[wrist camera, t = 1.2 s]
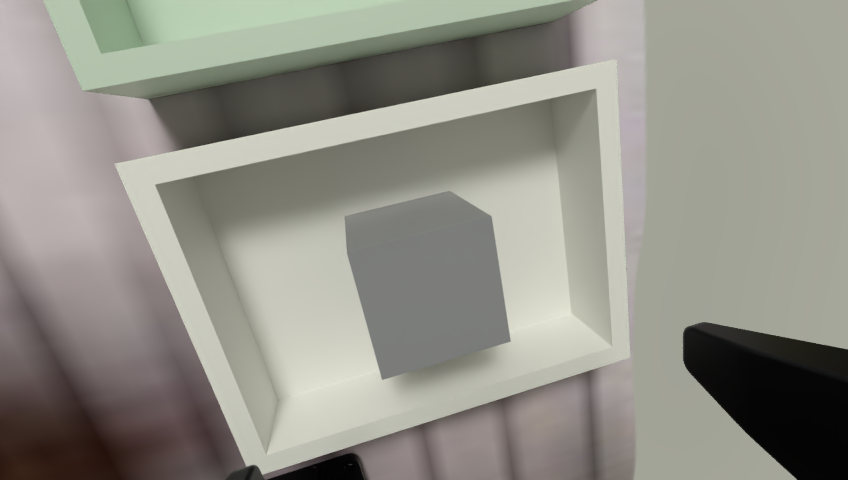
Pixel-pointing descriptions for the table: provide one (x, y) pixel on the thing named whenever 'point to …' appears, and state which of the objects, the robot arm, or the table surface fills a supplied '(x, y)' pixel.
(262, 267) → the cream bin
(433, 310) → the stone block
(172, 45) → the green bin
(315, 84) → the table surface
